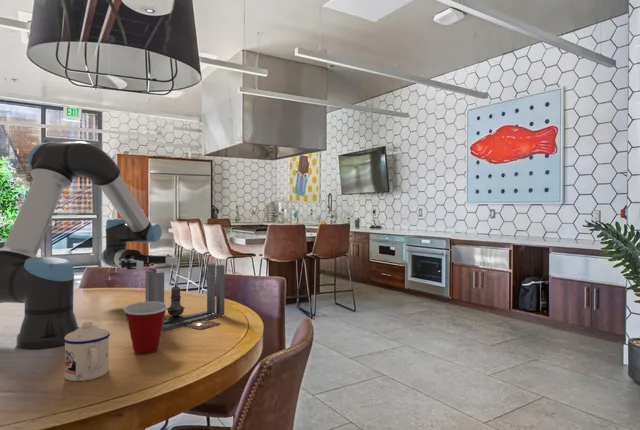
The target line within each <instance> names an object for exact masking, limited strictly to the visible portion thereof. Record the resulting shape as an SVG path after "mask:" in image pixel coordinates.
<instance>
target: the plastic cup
mask: <svg viewBox="0 0 640 430" xmlns="http://www.w3.org/2000/svg"><path fill="white" fill-rule="evenodd" d="M167 308H169V305H168V303H165V302H164V303H162V302H154V301H153V302H146V301H141V302H140V301H139V302H136V303H135V302H134V303H131V304H128V305H126V306H124V308H123V312H124V313H125V314H126V315H125V316H126V319H127V322H128V327H129V335H130V339H131V342H132V348H133V349H132V350H133V351H134V354H137V355H149V354H152V353H155V352H156V351H158V349H159V345H160V340H161V339H160V338H161V335H162V331H161V330H162V324H163V318H164V319H165V314H166V311H167Z"/></svg>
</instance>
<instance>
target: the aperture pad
mask: <svg viewBox="0 0 640 430" xmlns="http://www.w3.org/2000/svg"><path fill="white" fill-rule="evenodd" d="M218 324H220V325H221V323H220V322H216V321H211V320H209V319H208V320H201V321H197V322H193V323H189V324H184V326H183V327H187V326H188V328H191V327H192V328H191V329H194V328H196V329H195V330H198V329H201V330H204V329H203V328H205V329H207V328H206V327H209V328H211V327H210V326H213V327H215V326H214V325H216V326H219V325H218Z"/></svg>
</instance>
